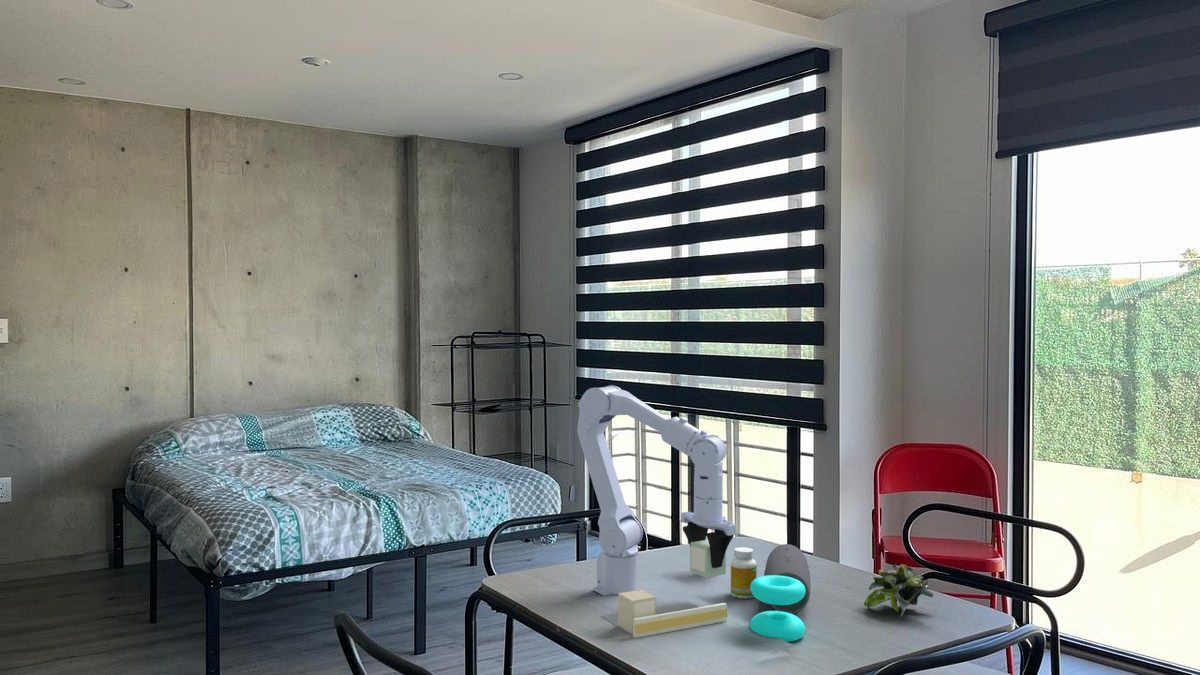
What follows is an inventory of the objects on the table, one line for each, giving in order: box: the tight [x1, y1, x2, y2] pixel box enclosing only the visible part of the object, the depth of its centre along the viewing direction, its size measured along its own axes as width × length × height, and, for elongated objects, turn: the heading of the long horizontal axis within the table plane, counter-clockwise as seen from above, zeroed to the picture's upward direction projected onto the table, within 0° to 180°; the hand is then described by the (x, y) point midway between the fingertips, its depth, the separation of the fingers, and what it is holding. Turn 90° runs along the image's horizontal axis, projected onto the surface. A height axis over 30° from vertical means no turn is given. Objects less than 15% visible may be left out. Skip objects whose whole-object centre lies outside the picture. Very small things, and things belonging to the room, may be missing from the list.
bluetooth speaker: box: [763, 543, 811, 615], centre depth 181 cm, size 23×9×10 cm, turn 168°
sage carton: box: [689, 540, 727, 579], centre depth 177 cm, size 5×5×6 cm
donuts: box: [749, 575, 806, 643], centre depth 162 cm, size 10×10×10 cm
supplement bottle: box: [730, 546, 758, 600], centre depth 185 cm, size 5×5×10 cm
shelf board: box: [600, 601, 728, 639], centre depth 167 cm, size 13×20×4 cm, turn 118°
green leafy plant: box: [863, 563, 934, 619], centre depth 175 cm, size 11×11×12 cm
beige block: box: [617, 589, 657, 634], centre depth 162 cm, size 5×5×6 cm
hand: (707, 563), depth 177 cm, fingers closed on sage carton, 5 cm apart
